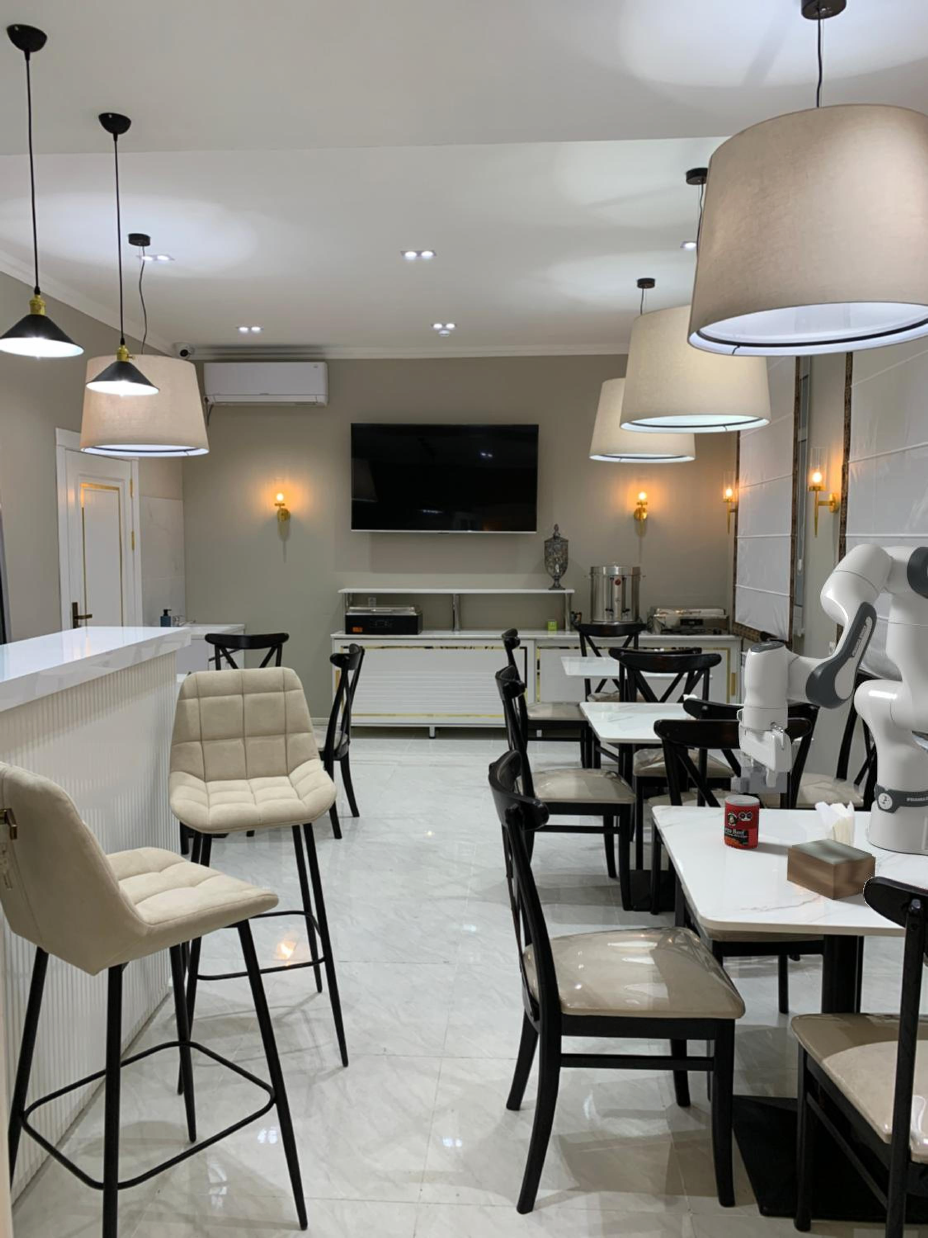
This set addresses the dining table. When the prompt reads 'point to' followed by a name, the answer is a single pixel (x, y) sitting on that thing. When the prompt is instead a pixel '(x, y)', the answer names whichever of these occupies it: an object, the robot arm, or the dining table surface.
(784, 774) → the block
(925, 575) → the robot arm
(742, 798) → the canned food
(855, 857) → the stand
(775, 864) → the dining table surface
